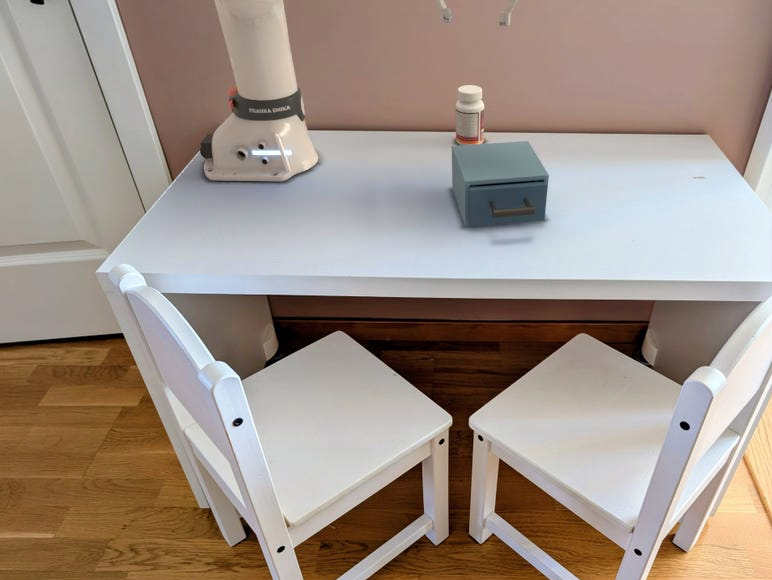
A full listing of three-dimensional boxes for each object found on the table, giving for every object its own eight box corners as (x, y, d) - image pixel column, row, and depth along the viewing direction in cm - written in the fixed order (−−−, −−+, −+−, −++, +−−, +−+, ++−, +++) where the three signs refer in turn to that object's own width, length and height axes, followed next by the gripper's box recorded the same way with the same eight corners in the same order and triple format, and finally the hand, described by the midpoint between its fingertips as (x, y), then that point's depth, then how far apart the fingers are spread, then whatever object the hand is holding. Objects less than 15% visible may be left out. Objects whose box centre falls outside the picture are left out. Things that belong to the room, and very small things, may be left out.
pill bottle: (472, 134, 138) (472, 81, 131) (489, 142, 135) (490, 89, 127) (450, 140, 135) (449, 87, 128) (467, 150, 132) (467, 96, 124)
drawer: (551, 233, 105) (555, 197, 100) (474, 240, 103) (474, 203, 98) (526, 186, 118) (528, 151, 113) (457, 191, 116) (457, 156, 111)
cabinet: (544, 220, 110) (549, 175, 104) (465, 226, 108) (464, 181, 102) (525, 183, 120) (528, 140, 115) (452, 189, 118) (451, 145, 112)
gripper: (397, -84, 86) (406, 24, 95) (541, -80, 83) (535, 32, 92) (411, -90, 90) (417, 14, 100) (547, -86, 87) (541, 21, 97)
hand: (475, 23), depth 96 cm, fingers open, 8 cm apart
